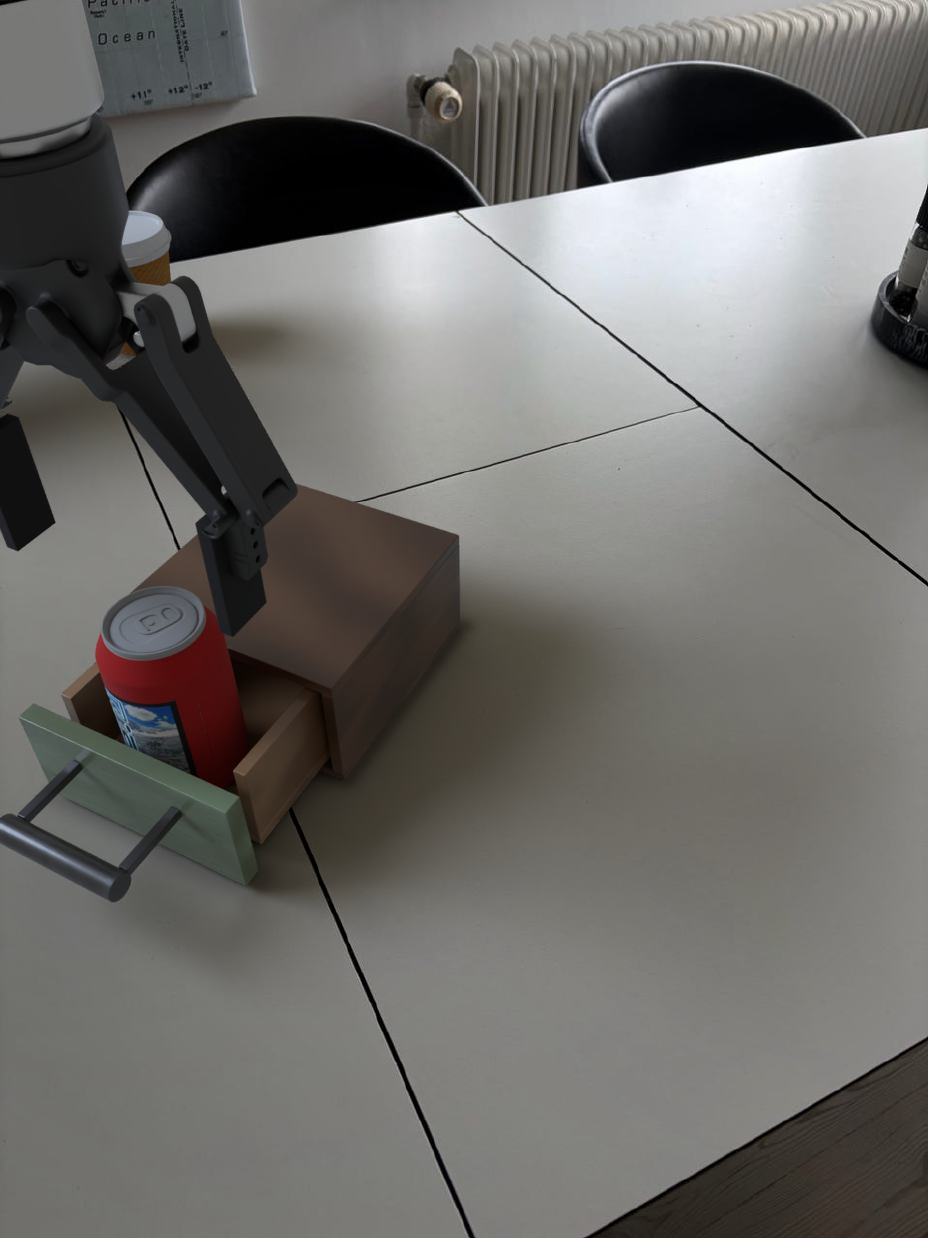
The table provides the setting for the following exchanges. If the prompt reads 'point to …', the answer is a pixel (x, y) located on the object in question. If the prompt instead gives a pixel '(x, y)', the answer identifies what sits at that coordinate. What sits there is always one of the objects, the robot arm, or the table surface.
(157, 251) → the disposable coffee cup
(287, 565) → the cabinet
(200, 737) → the beverage can
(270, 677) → the drawer
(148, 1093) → the table surface
